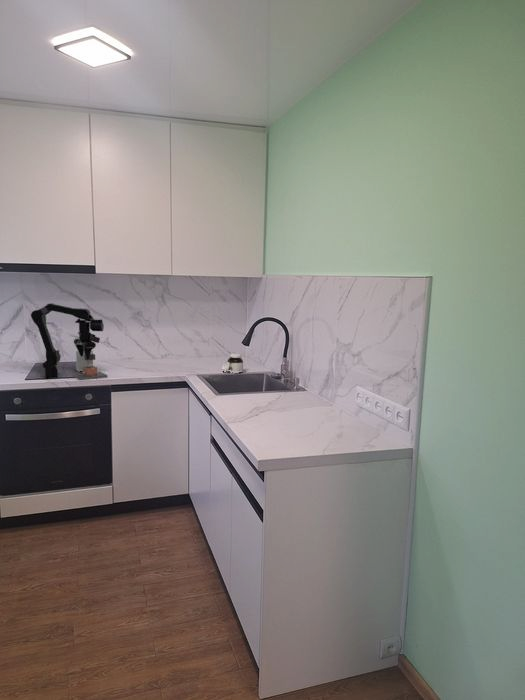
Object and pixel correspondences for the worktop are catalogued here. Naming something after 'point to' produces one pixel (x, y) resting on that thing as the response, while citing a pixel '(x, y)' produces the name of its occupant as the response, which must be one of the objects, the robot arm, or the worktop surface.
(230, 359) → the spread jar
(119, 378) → the worktop surface
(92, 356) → the jack column
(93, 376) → the stand base
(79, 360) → the supplement box
